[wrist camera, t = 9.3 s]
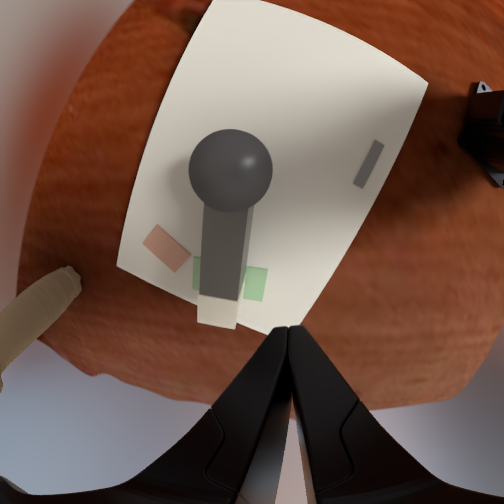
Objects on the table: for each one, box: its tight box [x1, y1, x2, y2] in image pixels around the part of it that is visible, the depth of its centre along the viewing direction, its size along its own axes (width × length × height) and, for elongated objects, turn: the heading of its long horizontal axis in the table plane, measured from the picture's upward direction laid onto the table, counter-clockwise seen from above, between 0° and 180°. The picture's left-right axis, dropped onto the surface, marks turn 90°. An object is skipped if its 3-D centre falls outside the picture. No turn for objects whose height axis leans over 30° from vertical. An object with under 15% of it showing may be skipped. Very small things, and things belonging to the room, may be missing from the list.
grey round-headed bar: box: [188, 129, 273, 329], centre depth 16 cm, size 11×4×4 cm, turn 173°
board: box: [116, 0, 428, 335], centre depth 17 cm, size 15×22×1 cm
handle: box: [0, 266, 82, 393], centre depth 16 cm, size 5×6×15 cm
